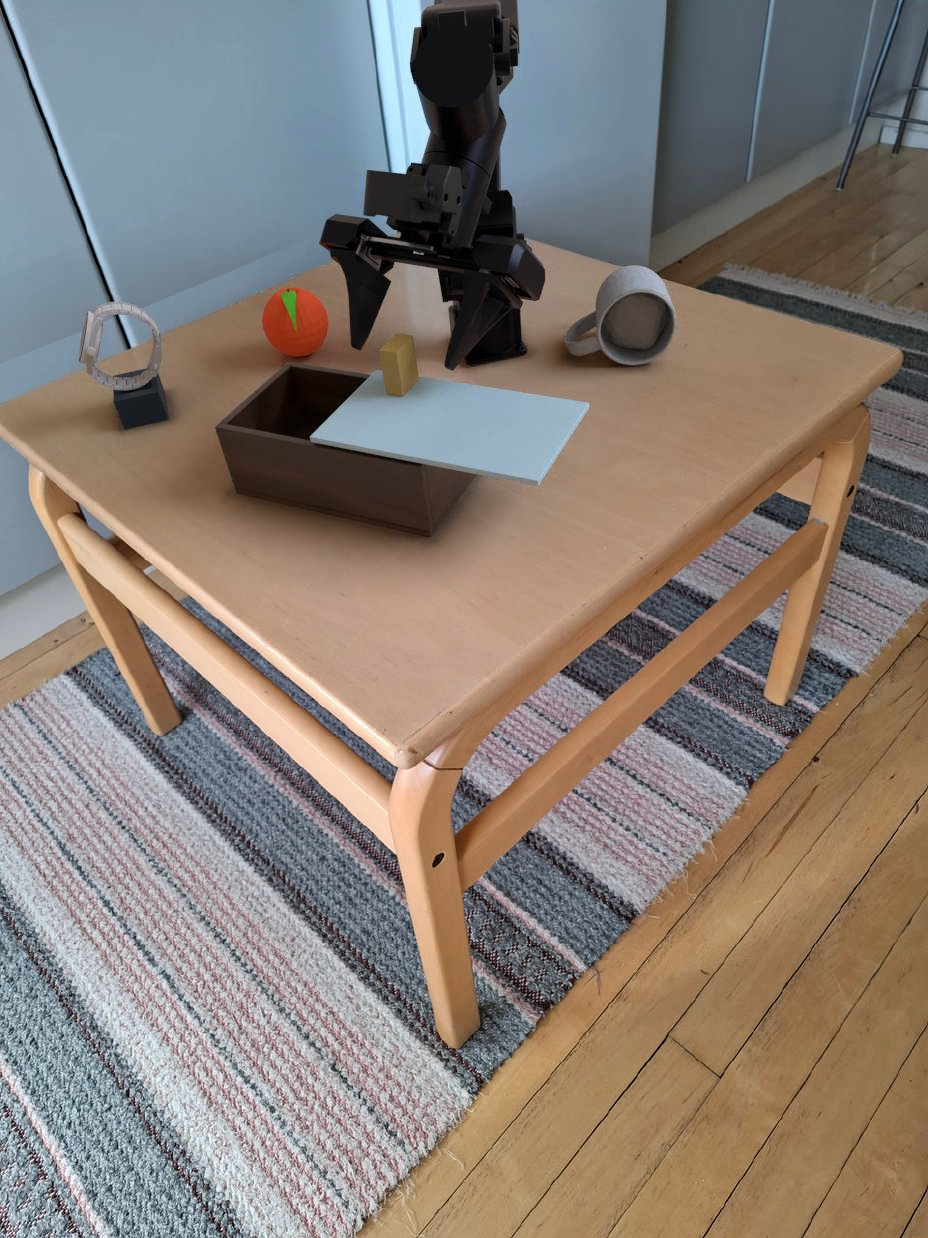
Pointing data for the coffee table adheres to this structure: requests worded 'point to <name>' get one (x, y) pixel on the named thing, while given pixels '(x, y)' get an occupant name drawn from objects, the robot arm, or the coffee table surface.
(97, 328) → the watch
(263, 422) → the case
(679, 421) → the coffee table surface
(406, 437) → the lid
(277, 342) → the clementine
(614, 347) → the ceramic mug
